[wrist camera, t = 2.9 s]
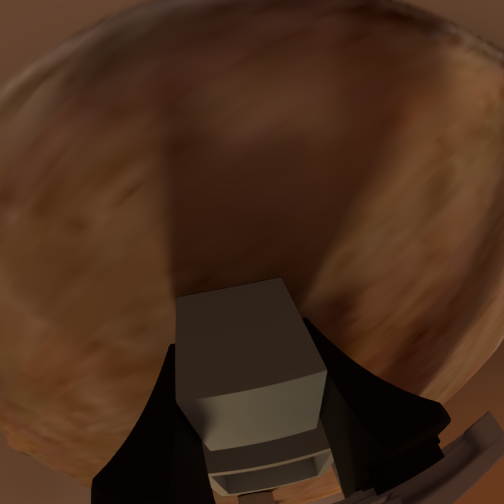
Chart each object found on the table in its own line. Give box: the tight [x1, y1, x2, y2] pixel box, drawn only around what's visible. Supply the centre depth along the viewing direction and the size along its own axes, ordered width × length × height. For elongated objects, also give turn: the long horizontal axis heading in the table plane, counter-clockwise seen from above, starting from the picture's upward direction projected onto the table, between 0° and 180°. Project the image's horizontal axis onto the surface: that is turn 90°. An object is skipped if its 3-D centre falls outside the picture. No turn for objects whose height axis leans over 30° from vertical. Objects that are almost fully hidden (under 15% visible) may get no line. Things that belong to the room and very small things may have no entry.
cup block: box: [202, 417, 334, 496], centre depth 14 cm, size 8×8×3 cm
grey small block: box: [175, 277, 327, 451], centre depth 10 cm, size 4×4×5 cm
